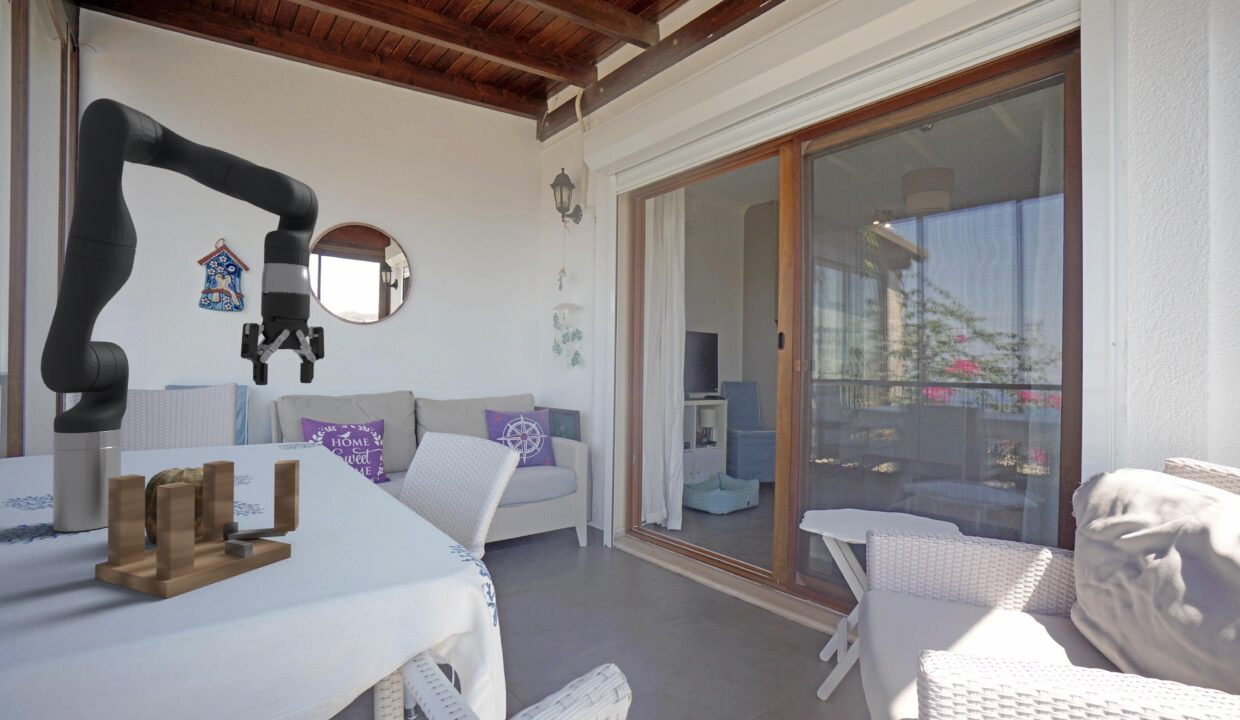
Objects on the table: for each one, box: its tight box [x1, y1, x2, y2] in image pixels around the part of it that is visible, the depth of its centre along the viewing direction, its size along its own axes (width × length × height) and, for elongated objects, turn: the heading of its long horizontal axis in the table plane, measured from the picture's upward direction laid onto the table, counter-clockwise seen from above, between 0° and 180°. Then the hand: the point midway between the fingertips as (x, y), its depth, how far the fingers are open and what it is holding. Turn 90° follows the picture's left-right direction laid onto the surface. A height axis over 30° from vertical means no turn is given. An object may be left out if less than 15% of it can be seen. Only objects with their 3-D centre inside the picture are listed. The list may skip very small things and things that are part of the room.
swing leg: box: [223, 459, 300, 540], centre depth 98 cm, size 10×3×12 cm, turn 107°
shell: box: [145, 466, 203, 545], centre depth 104 cm, size 11×11×12 cm
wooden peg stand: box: [94, 459, 292, 600], centre depth 90 cm, size 16×18×14 cm
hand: (284, 384), depth 107 cm, fingers open, 8 cm apart
